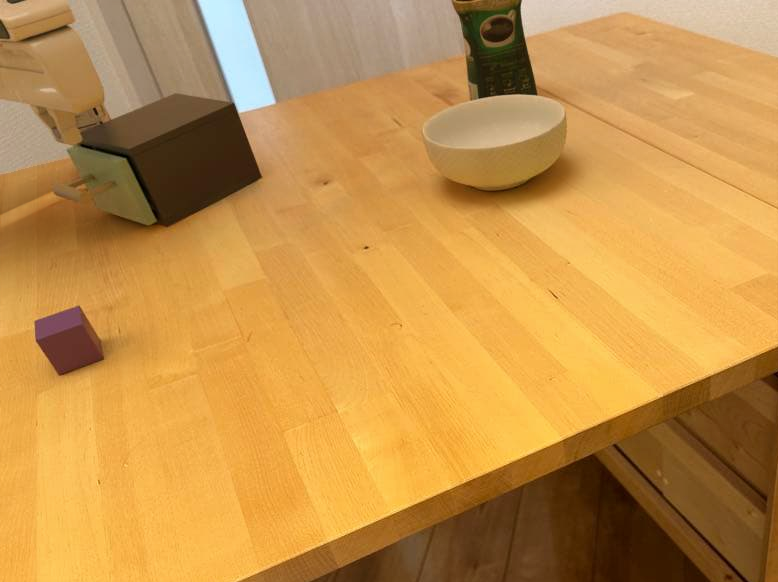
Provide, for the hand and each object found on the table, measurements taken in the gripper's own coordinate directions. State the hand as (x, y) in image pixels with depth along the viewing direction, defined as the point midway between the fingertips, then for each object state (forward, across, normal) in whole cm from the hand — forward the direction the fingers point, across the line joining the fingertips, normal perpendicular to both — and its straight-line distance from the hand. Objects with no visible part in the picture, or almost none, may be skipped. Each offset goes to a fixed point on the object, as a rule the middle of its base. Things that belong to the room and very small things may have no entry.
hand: (70, 142), depth 87 cm
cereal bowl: (+12, +38, +29) cm, 49 cm away
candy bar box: (+11, -16, +9) cm, 22 cm away
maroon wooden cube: (+11, +23, -18) cm, 31 cm away
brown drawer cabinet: (+11, 0, +10) cm, 15 cm away
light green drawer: (+10, 0, +6) cm, 12 cm away
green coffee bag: (+12, +23, +49) cm, 56 cm away
